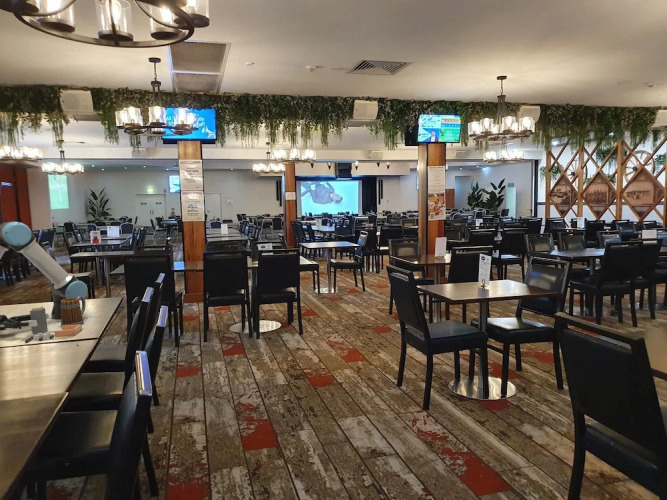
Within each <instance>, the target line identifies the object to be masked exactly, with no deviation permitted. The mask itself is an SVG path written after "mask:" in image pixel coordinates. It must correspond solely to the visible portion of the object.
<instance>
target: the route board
mask: <svg viewBox="0 0 667 500" xmlns="http://www.w3.org/2000/svg"><path fill="white" fill-rule="evenodd" d="M84 329H85V327H82V331H83V330H84ZM58 330H59V329H55V330H48V331H47V332H46V333H48V332H51V335H54V337H53V338H52V339H50V338H48V340H47V341H55V340H67V339H73V338H74V337H75V336H66V337H55V332H54V331H58ZM82 331H80V332H79V333H81V332H82ZM44 334H45V333H44ZM44 334H43V335H44ZM35 335H37V334H35ZM35 335H33V334H32V333H30V334H28V335H27V336H25V337H24V338H22V339H20V340H18V342H17V343H26V342H25V340H26V339H28V338H30V337H31V336H33V337H34V336H35ZM42 341H43V342H44V341H45V340H41V341H40V342H42ZM29 342H31V343H32V342H36V341H35V337H34V338H33V339H32V340H30V341H29Z"/></svg>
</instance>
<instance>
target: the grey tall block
mask: <svg viewBox="0 0 667 500" xmlns="http://www.w3.org/2000/svg"><path fill="white" fill-rule="evenodd" d="M29 314H30V317H31V320H30V321H33V320H37V326H31V332H32V333H31V334H33V335H35V334H38V333H43V334H44V333H46V332H47V331H49V329H48V322H47V320H48V319H46V314H47V312H46V307H44V306H34V307H32V308H31V310H30V311H29Z"/></svg>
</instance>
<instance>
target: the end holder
mask: <svg viewBox="0 0 667 500" xmlns="http://www.w3.org/2000/svg"><path fill="white" fill-rule="evenodd" d="M82 328H83V324H79V325H66V326H62V327H61V329H57V330H58V331H54V332H55V337H66V336H74V337H76V336H77V335H78V334H80V333H81V332H82V331H83V330H82ZM80 331H81V332H80Z"/></svg>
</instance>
